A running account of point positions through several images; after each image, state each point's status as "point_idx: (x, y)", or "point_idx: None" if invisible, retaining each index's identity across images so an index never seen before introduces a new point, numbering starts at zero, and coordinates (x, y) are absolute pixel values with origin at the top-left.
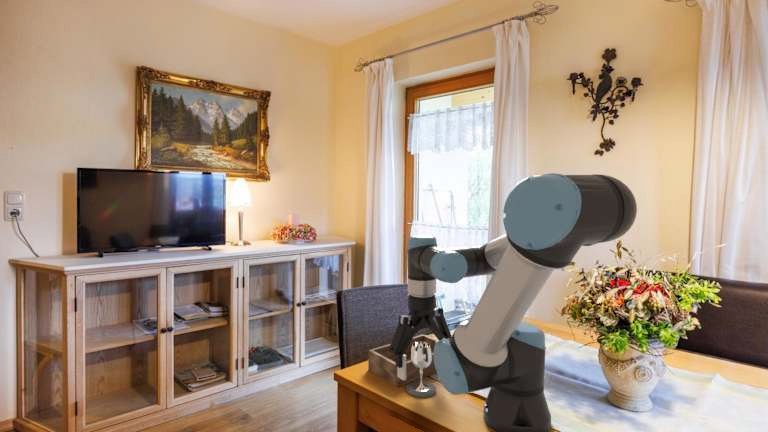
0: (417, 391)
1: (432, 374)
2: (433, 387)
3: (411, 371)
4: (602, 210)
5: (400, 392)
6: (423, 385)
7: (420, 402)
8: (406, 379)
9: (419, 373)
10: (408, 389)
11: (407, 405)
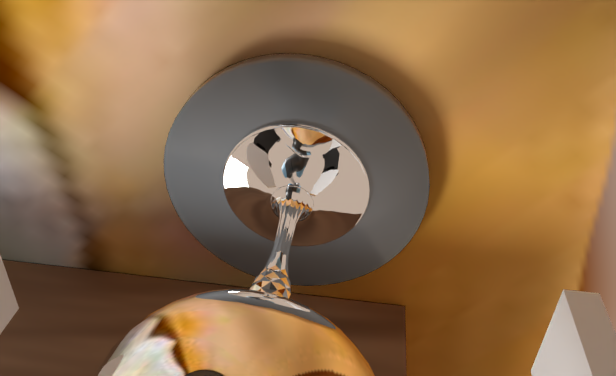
0: (366, 171)
1: (54, 266)
2: (198, 127)
3: None
4: None
5: (451, 255)
6: (277, 188)
7: (471, 44)
8: None
9: None
10: (395, 237)
11: (603, 87)
